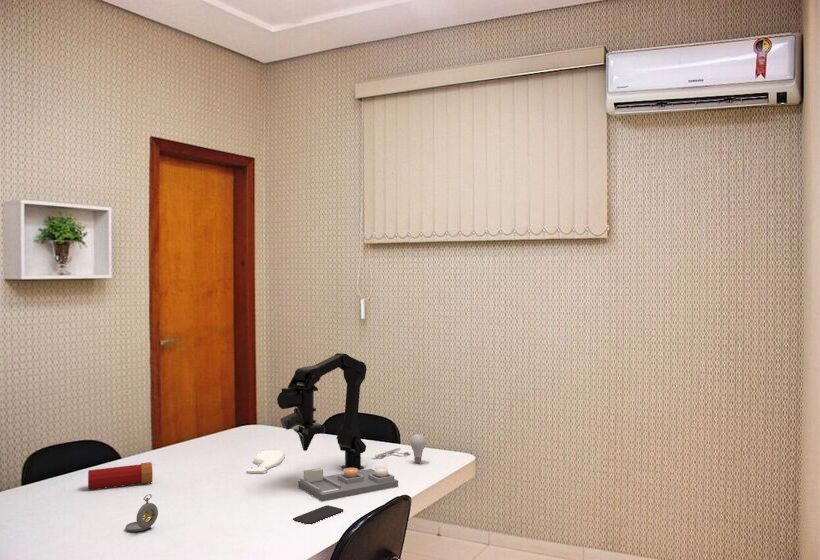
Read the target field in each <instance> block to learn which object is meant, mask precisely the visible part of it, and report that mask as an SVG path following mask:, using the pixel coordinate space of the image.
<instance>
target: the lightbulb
mask: <svg viewBox="0 0 820 560" xmlns="http://www.w3.org/2000/svg"><path fill="white" fill-rule="evenodd" d="M409 443H410V444H409V445H410V448H411V449H412V452H413V456H414V462H415V463H416V464H420V463H421V462H422V457H423V451H424V450H425V447H426V445H427V440H426V438H425V436H424V435H422V434H419V433H417V434H414V435H412V437H411V438H410V441H409Z"/></svg>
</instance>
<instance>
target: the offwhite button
mask: <svg viewBox="0 0 820 560" xmlns="http://www.w3.org/2000/svg"><path fill="white" fill-rule="evenodd" d="M374 470H375V476H379V477H383V476H387V475H388V473H389V468H388V467H386V466H377V467H374Z"/></svg>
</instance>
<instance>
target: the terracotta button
mask: <svg viewBox="0 0 820 560" xmlns="http://www.w3.org/2000/svg"><path fill="white" fill-rule="evenodd" d="M358 471H359V469H357V468H343V473H344V476H345V477H356V476H358Z"/></svg>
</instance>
